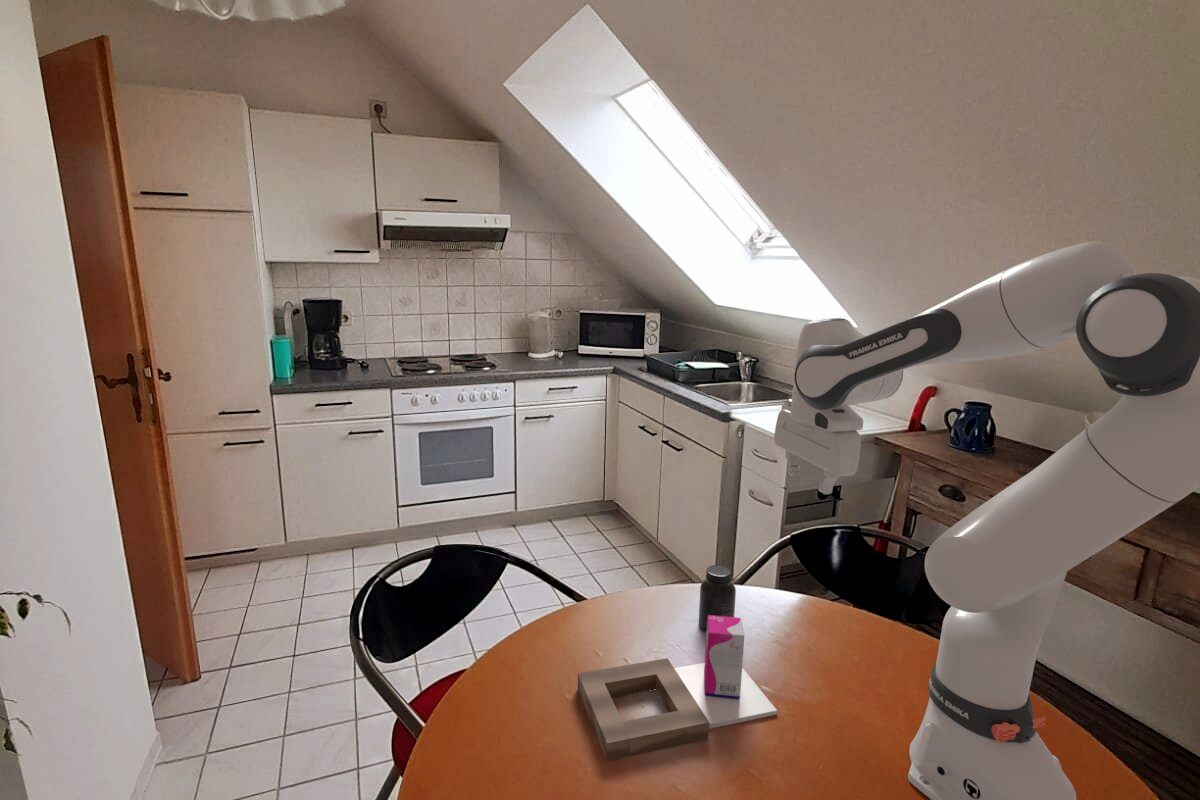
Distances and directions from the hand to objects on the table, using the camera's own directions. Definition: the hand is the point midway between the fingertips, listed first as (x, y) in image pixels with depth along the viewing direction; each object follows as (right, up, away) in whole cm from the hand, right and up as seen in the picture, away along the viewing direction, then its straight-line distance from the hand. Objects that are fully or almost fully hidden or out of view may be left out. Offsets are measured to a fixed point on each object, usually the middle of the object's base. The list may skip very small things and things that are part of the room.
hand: (809, 483), depth 115 cm
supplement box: (-18, -33, -9) cm, 38 cm away
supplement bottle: (-15, -30, +10) cm, 35 cm away
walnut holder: (-32, -34, -15) cm, 49 cm away
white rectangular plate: (-18, -34, -9) cm, 39 cm away
